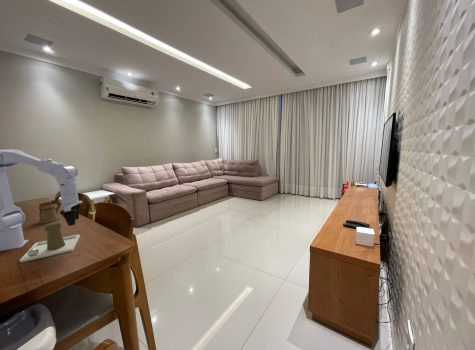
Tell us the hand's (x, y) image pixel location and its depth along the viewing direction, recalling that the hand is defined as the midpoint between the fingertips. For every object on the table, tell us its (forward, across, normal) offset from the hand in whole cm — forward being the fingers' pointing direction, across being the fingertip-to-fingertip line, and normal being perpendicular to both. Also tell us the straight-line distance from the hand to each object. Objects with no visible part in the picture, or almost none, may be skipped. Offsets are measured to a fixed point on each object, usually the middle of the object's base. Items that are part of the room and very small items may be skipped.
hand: (73, 222), depth 90 cm
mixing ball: (+10, -6, +13) cm, 17 cm away
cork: (+10, 0, +7) cm, 12 cm away
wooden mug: (+11, +48, +19) cm, 52 cm away
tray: (+10, 0, +8) cm, 13 cm away
